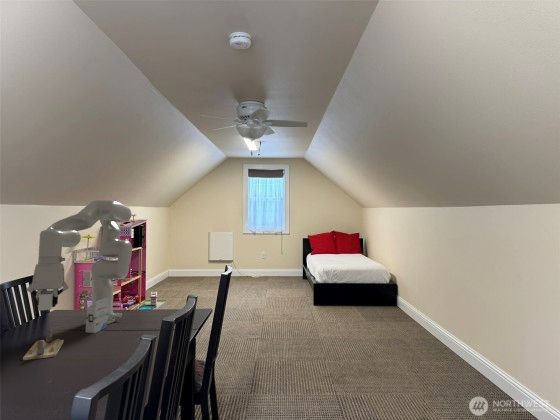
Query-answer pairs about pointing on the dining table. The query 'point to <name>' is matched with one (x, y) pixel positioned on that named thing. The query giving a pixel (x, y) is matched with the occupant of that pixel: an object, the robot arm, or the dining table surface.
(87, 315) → the ink box
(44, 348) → the cradle
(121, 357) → the dining table surface
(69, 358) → the dining table surface
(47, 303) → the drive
